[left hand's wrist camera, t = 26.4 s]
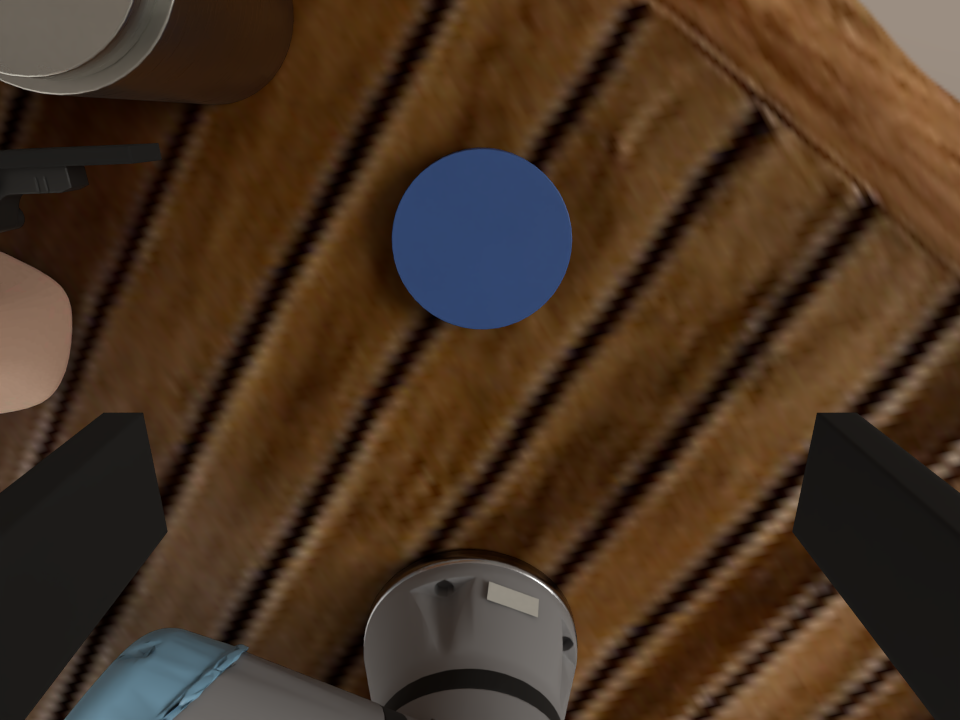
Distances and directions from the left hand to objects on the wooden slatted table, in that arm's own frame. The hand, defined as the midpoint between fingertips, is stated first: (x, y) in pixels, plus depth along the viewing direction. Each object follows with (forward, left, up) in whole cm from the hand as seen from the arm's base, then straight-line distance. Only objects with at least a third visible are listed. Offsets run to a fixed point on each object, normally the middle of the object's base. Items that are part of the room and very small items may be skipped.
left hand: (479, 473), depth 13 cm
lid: (0, 0, -24) cm, 24 cm away
